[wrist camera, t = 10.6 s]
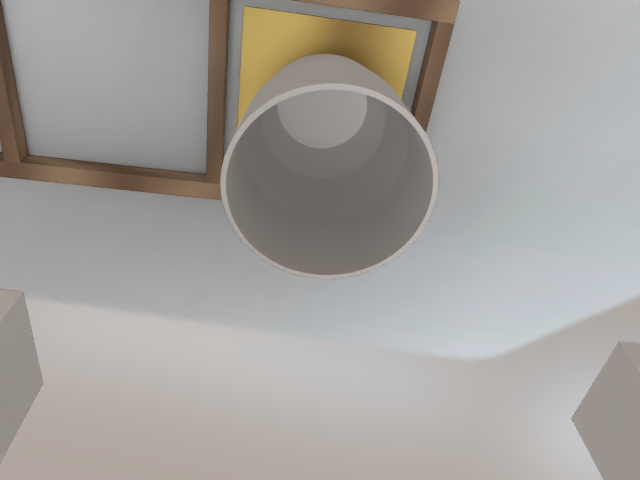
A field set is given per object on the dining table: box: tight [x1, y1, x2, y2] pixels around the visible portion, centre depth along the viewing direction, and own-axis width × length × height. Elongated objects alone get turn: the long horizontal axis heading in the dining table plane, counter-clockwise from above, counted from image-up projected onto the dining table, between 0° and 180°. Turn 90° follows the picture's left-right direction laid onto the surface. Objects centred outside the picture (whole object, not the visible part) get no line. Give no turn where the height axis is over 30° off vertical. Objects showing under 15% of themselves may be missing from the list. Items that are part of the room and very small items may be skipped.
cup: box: [220, 54, 439, 279], centre depth 23 cm, size 8×8×10 cm
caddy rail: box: [0, 0, 460, 200], centre depth 26 cm, size 33×12×1 cm, turn 82°
